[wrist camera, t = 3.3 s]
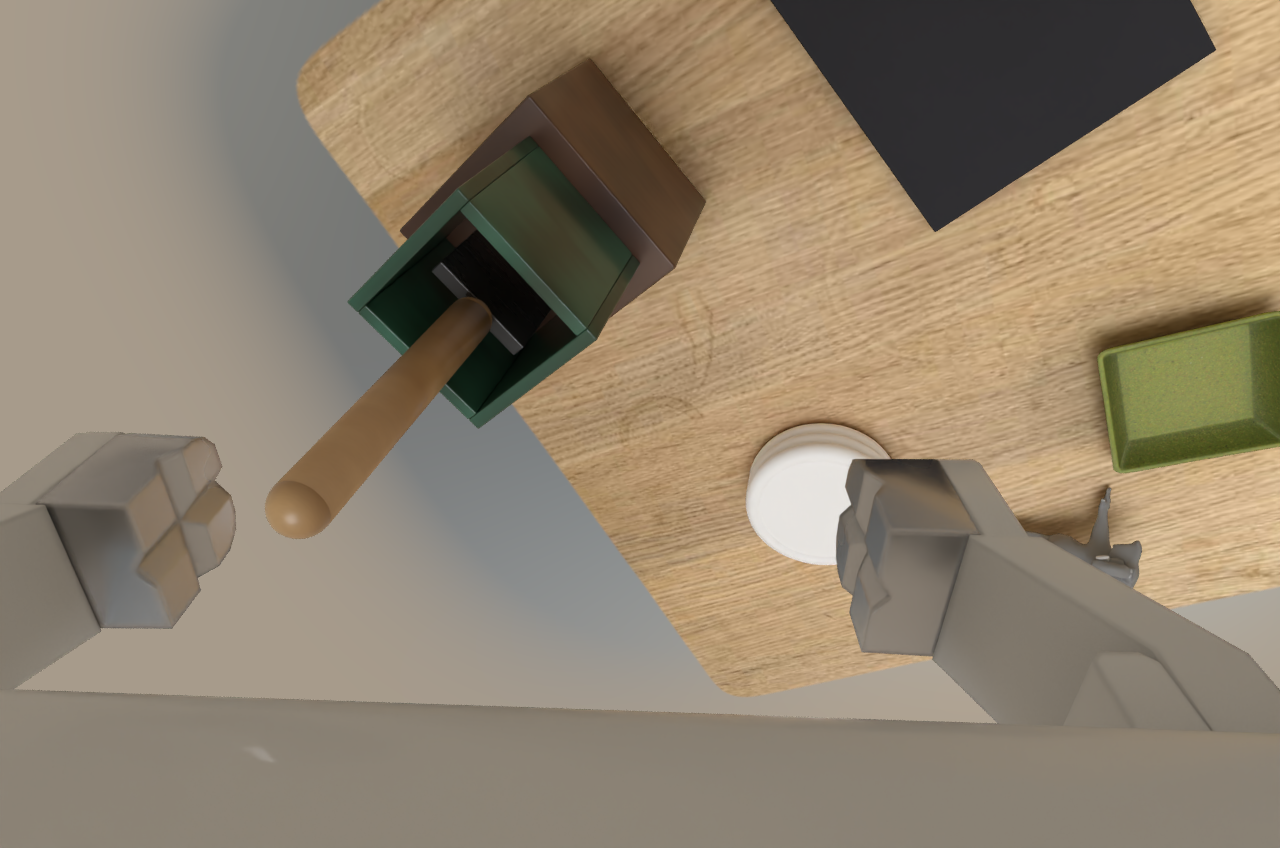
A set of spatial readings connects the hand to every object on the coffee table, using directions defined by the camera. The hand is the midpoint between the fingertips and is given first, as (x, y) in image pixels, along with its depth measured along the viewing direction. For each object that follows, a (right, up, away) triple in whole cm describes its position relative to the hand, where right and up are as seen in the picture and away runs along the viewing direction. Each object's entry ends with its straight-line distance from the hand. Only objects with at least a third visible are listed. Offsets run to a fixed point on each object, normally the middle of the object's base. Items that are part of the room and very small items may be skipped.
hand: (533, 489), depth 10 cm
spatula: (-4, +9, +28) cm, 30 cm away
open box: (-2, +15, +36) cm, 39 cm away
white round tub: (+14, -3, +44) cm, 46 cm away
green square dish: (+32, +3, +35) cm, 48 cm away
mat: (+17, +21, +27) cm, 38 cm away
